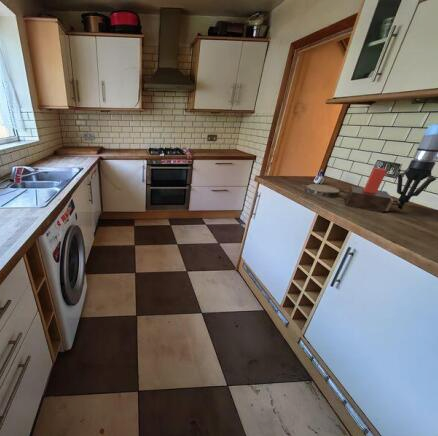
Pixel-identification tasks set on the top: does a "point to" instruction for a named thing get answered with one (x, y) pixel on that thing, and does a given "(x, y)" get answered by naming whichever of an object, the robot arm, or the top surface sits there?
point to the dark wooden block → (367, 199)
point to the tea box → (375, 180)
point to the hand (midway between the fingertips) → (399, 207)
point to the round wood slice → (322, 190)
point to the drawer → (392, 203)
